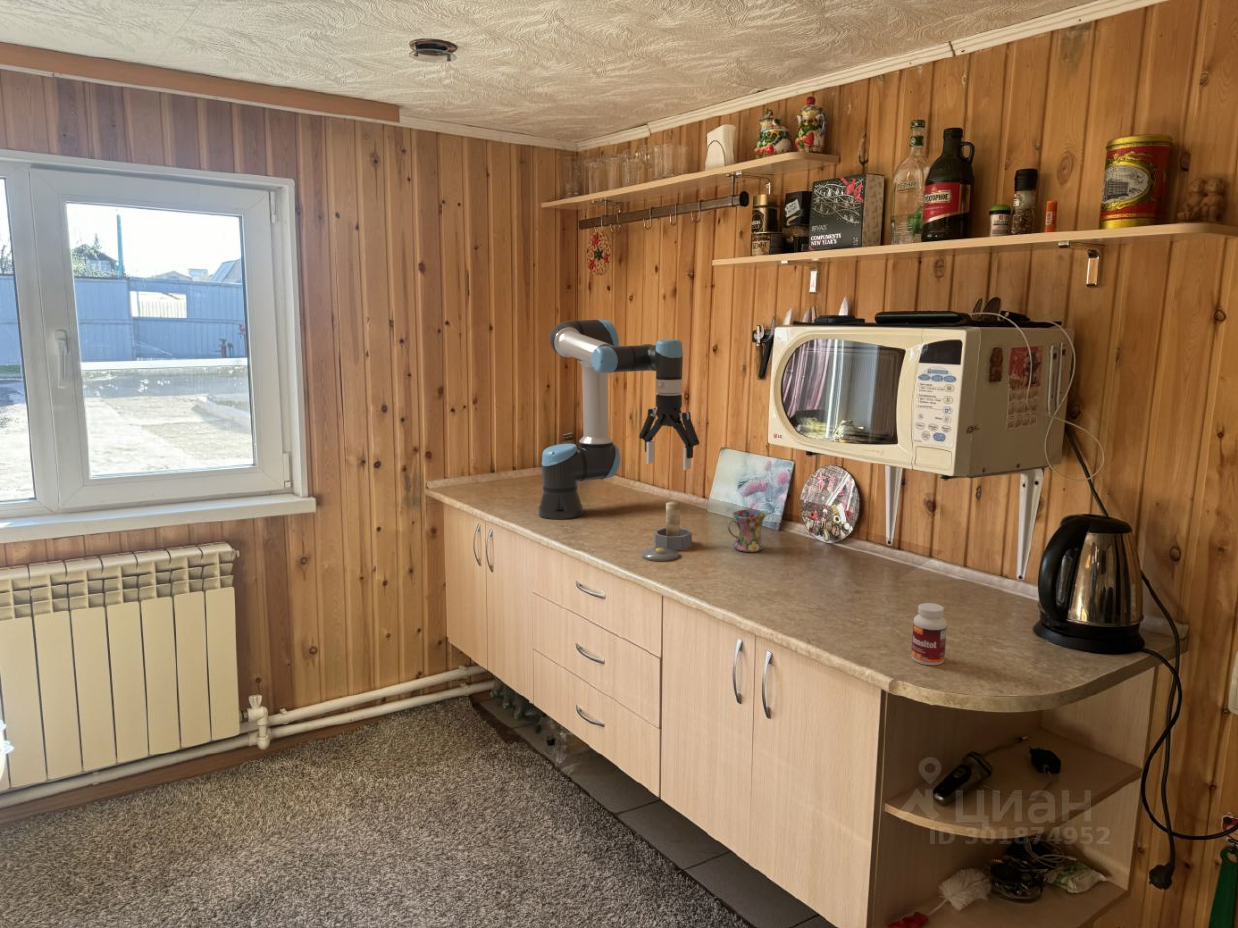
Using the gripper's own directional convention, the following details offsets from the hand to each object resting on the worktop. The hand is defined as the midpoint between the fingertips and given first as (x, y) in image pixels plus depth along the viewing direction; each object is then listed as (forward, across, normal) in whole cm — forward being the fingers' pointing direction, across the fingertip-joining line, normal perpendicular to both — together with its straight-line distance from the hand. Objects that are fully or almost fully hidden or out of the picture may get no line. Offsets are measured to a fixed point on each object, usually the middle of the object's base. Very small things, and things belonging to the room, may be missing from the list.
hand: (668, 466), depth 251 cm
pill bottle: (+22, +93, -35) cm, 101 cm away
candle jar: (+23, +4, -2) cm, 23 cm away
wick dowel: (+22, +4, -2) cm, 23 cm away
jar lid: (+23, +8, -13) cm, 27 cm away
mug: (+23, +22, +7) cm, 33 cm away
